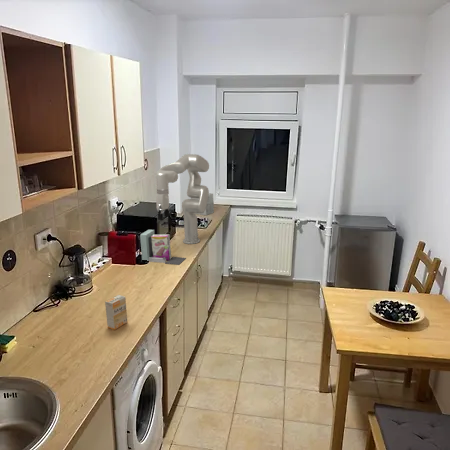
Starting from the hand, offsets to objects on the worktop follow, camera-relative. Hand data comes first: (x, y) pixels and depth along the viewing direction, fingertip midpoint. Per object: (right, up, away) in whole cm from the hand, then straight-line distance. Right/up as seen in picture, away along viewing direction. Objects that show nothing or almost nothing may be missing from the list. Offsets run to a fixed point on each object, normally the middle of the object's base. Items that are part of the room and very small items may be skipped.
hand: (163, 218), depth 265 cm
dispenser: (-5, -27, +3) cm, 27 cm away
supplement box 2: (+18, +7, +119) cm, 121 cm away
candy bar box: (-1, -27, +2) cm, 27 cm away
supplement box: (-9, -50, -78) cm, 93 cm away
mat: (+8, -27, -1) cm, 29 cm away
